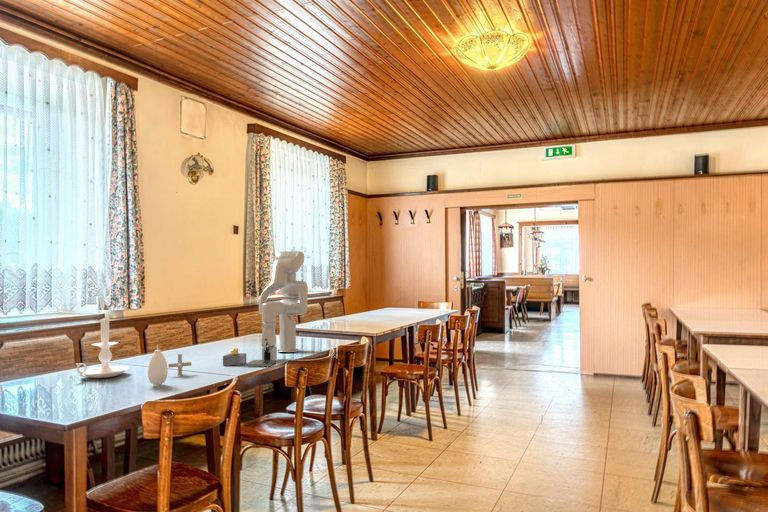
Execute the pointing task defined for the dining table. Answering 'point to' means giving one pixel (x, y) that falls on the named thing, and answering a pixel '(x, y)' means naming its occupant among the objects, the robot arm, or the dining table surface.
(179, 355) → the pipe connector
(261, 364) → the press bed
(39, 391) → the dining table surface
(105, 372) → the candlestick
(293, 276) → the robot arm
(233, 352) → the brass pin
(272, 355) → the block
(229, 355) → the block
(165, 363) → the egg shaped candle
